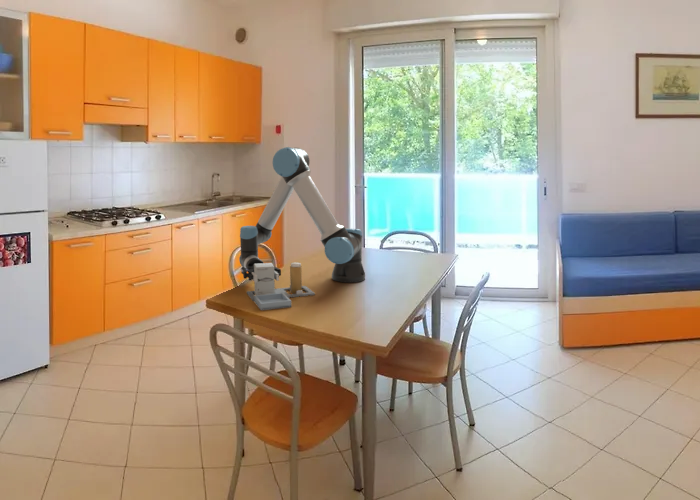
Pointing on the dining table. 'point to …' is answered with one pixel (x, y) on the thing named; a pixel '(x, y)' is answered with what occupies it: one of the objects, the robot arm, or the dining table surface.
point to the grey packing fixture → (283, 290)
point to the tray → (272, 301)
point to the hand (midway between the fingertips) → (267, 278)
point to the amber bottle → (295, 277)
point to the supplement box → (264, 278)
